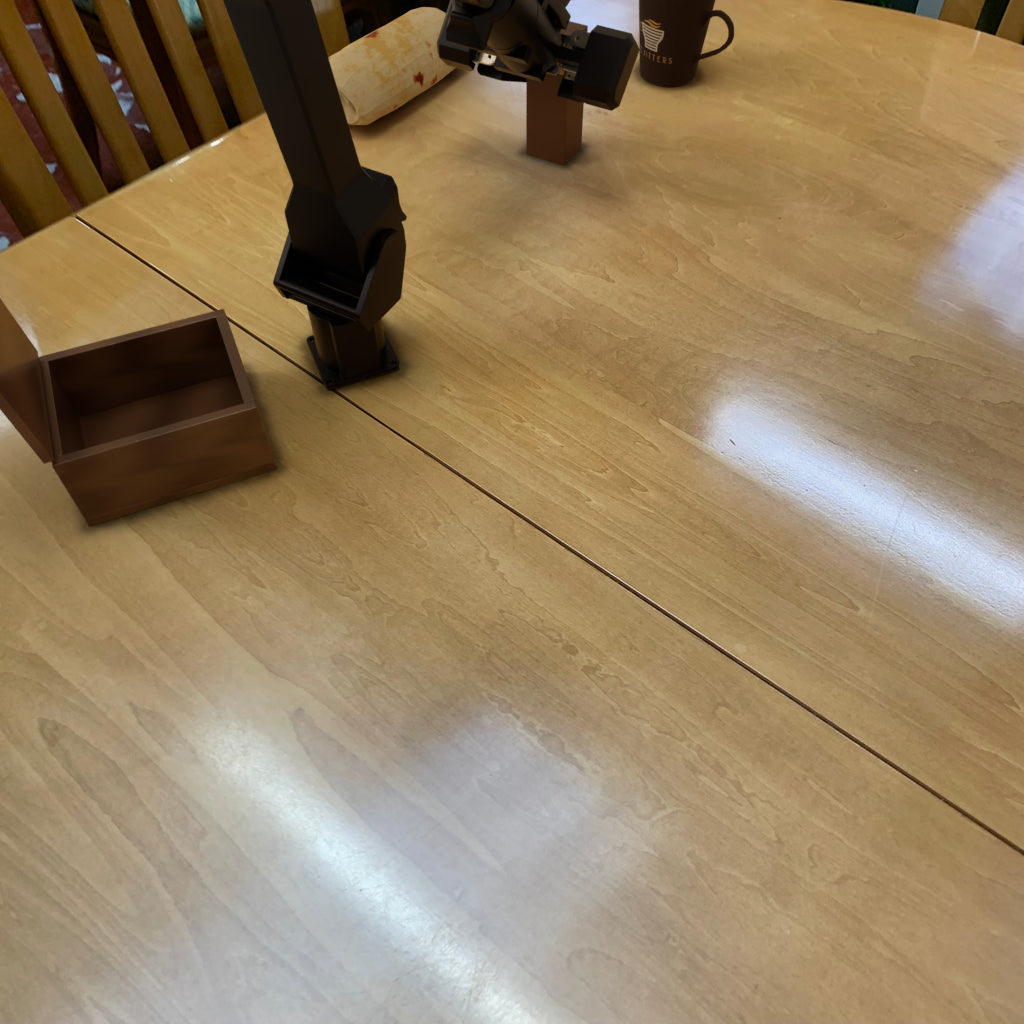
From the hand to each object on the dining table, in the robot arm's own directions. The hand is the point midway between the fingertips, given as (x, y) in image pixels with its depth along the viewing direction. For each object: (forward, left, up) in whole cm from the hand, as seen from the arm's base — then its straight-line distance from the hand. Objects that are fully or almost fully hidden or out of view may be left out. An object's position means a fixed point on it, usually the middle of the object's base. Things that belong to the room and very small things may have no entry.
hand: (562, 83), depth 93 cm
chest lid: (-27, +53, +8) cm, 60 cm away
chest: (-27, +46, -7) cm, 53 cm away
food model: (+12, +22, -3) cm, 25 cm away
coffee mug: (+7, -17, -7) cm, 20 cm away
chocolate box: (-1, +1, -7) cm, 7 cm away
